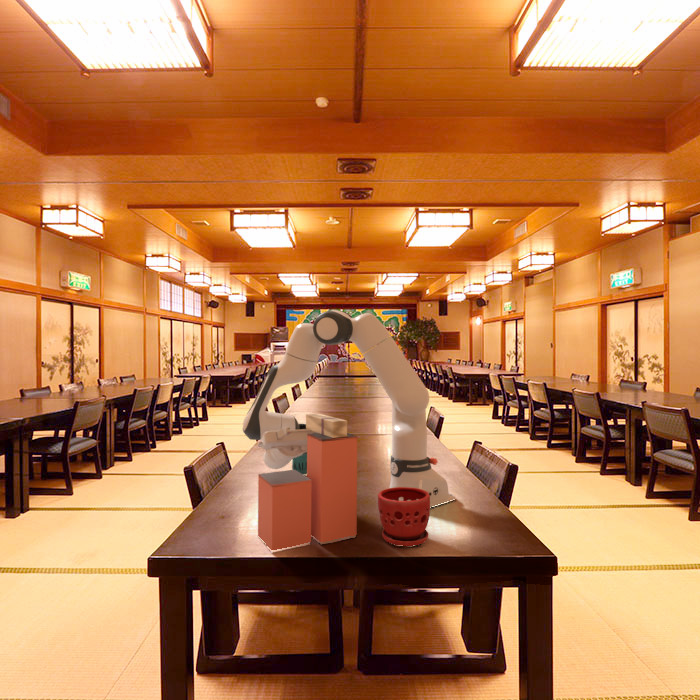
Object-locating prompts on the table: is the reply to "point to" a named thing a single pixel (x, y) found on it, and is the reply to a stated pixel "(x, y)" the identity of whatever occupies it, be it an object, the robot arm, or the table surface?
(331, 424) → the box
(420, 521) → the plant pot
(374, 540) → the table surface
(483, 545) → the table surface
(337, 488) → the stand
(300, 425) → the beverage bottle
